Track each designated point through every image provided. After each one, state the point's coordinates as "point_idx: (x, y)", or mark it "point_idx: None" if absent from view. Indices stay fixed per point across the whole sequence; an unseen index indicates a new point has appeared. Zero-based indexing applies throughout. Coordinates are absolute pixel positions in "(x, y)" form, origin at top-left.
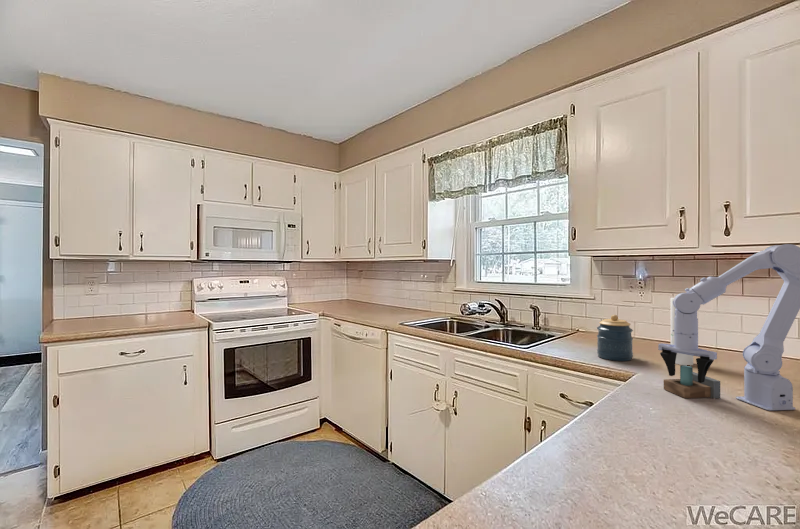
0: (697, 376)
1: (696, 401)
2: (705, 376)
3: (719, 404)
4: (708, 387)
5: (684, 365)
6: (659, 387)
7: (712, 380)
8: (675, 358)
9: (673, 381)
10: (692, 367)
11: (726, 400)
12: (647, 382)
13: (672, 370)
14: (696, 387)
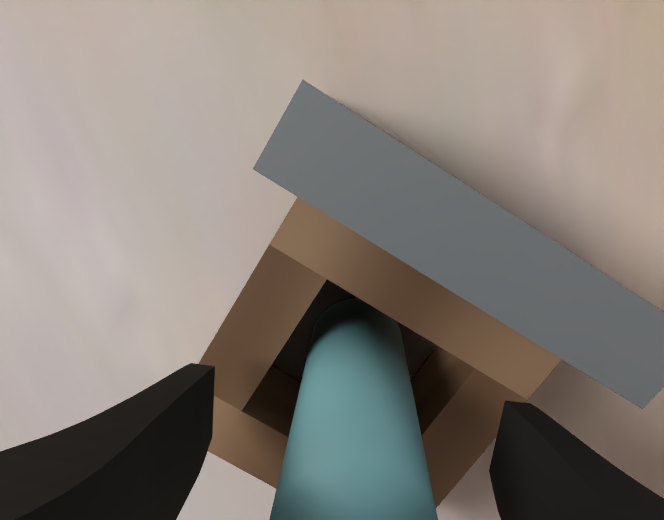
0: (430, 274)
1: (470, 483)
2: (519, 239)
3: (611, 433)
4: (551, 368)
5: (303, 479)
6: (149, 338)
7: (624, 379)
8: (97, 479)
9: (253, 430)
10: (434, 516)
11: (643, 283)
12: (11, 265)
13: (188, 454)
14: (468, 465)
